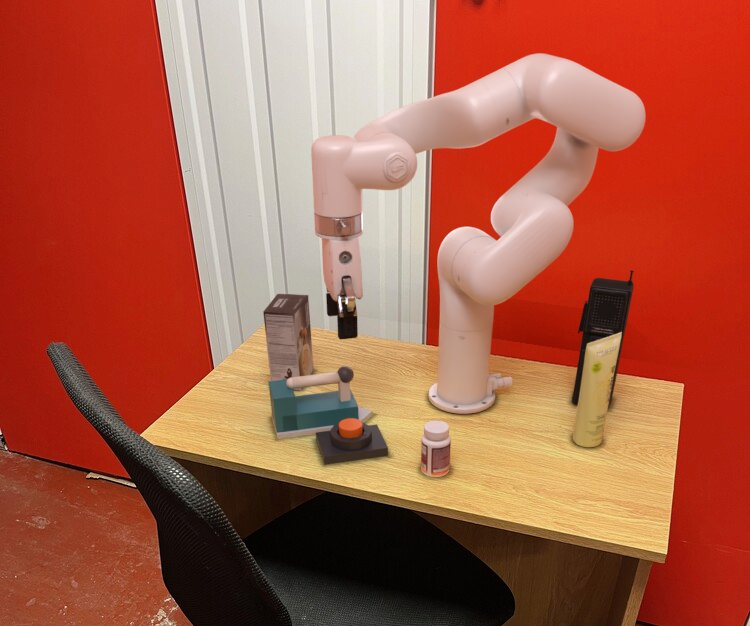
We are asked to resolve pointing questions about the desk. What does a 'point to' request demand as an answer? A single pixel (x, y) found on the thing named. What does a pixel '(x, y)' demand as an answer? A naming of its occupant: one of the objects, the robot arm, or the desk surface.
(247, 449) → the desk surface
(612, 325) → the portable radio
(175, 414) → the desk surface
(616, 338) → the tube
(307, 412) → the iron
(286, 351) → the coffee box
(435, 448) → the pill bottle
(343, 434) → the power button
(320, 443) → the switch box
